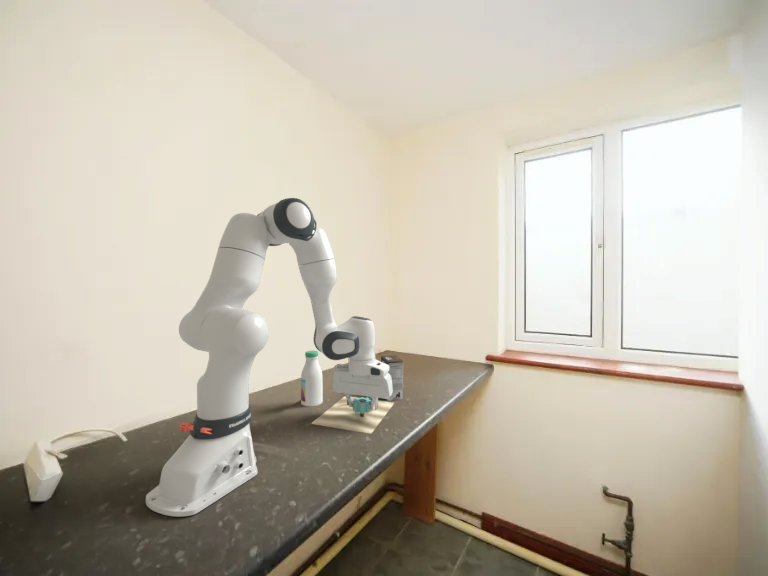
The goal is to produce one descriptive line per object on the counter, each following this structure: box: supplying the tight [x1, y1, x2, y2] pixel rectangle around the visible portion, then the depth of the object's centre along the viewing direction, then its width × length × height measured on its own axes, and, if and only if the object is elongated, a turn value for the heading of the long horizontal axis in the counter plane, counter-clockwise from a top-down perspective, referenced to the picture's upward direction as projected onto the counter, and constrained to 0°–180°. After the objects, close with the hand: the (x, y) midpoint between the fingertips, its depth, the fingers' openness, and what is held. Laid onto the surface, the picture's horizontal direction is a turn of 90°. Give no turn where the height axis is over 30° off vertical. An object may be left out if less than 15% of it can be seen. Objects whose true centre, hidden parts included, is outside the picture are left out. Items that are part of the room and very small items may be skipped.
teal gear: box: [353, 396, 371, 414], centre depth 98 cm, size 6×6×3 cm
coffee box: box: [380, 355, 404, 402], centre depth 116 cm, size 9×6×16 cm
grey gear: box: [362, 396, 379, 412], centre depth 104 cm, size 6×6×3 cm
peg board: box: [310, 395, 395, 435], centre depth 101 cm, size 24×20×6 cm
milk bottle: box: [300, 350, 324, 407], centre depth 110 cm, size 8×8×20 cm
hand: (361, 408), depth 98 cm, fingers closed on teal gear, 6 cm apart
